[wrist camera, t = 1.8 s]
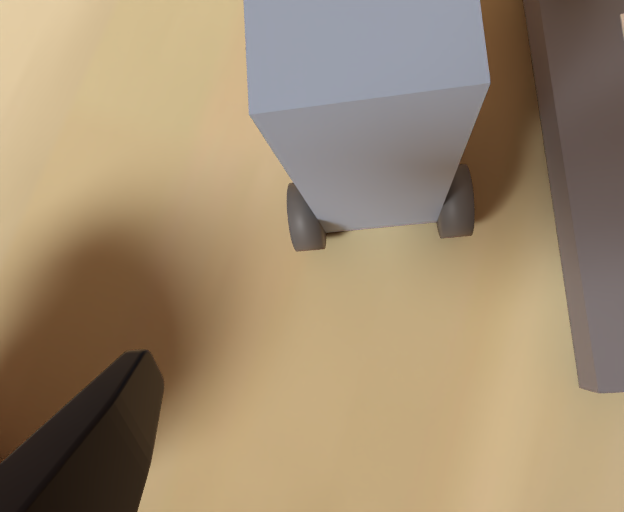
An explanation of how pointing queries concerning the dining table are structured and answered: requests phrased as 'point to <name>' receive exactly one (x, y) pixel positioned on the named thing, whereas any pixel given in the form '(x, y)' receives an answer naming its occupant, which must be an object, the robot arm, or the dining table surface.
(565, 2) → the wooden frame
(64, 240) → the dining table surface
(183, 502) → the dining table surface
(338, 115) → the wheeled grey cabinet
